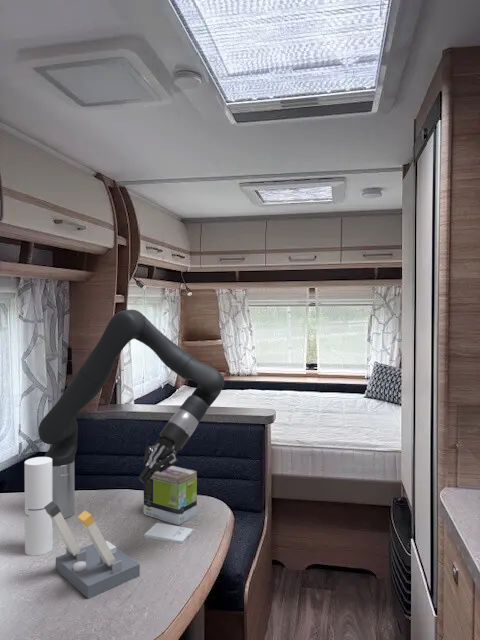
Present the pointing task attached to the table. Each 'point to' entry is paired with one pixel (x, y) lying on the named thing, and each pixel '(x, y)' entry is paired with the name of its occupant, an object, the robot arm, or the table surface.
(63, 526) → the black lever
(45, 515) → the cylindrical container
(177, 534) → the external hard drive
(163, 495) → the tea box
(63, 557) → the switch panel
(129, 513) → the table surface
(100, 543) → the amber lever
